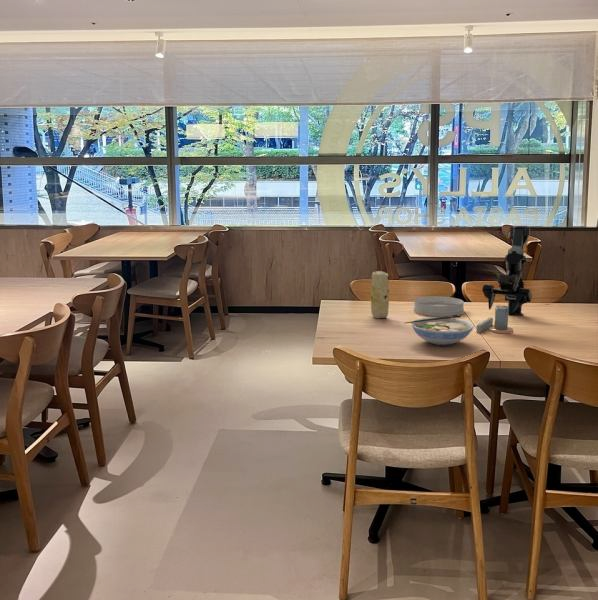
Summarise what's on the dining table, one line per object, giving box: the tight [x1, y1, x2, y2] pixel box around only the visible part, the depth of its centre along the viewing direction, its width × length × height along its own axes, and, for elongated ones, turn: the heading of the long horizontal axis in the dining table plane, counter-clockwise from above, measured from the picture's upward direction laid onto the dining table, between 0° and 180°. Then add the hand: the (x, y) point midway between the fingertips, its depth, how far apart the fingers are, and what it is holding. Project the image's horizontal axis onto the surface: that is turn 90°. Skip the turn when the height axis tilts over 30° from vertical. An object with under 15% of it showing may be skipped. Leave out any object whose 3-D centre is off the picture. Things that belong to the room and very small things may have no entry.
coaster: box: [488, 325, 514, 334], centre depth 269 cm, size 9×9×1 cm
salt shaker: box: [494, 305, 509, 330], centre depth 268 cm, size 5×5×9 cm
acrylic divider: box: [476, 317, 494, 334], centre depth 272 cm, size 16×1×3 cm, turn 146°
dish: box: [413, 295, 465, 317], centre depth 305 cm, size 22×22×5 cm
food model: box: [370, 270, 390, 319], centre depth 293 cm, size 10×7×20 cm
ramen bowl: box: [404, 314, 475, 347], centre depth 250 cm, size 25×23×8 cm
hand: (500, 310), depth 266 cm, fingers open, 9 cm apart
